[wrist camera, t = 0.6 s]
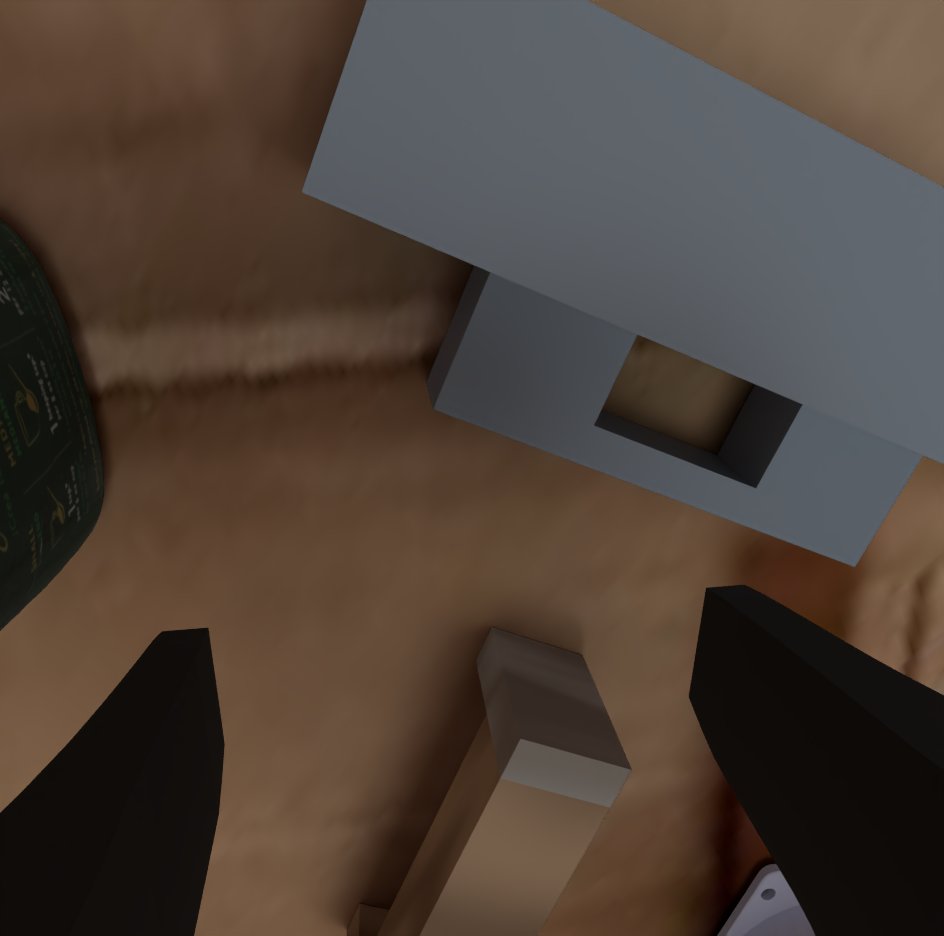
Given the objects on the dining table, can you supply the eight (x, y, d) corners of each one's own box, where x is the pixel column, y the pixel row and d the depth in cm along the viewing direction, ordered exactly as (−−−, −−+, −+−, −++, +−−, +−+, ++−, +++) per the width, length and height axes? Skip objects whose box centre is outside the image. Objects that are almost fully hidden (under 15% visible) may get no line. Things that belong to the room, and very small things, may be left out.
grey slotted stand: (916, 569, 25) (1109, 712, 18) (275, 324, 20) (230, 400, 14) (1068, 330, 23) (1346, 398, 16) (389, -4, 18) (400, -98, 12)
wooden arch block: (430, 947, 28) (442, 1103, 23) (346, 929, 27) (341, 1086, 23) (582, 655, 25) (631, 769, 20) (491, 627, 24) (520, 738, 19)
